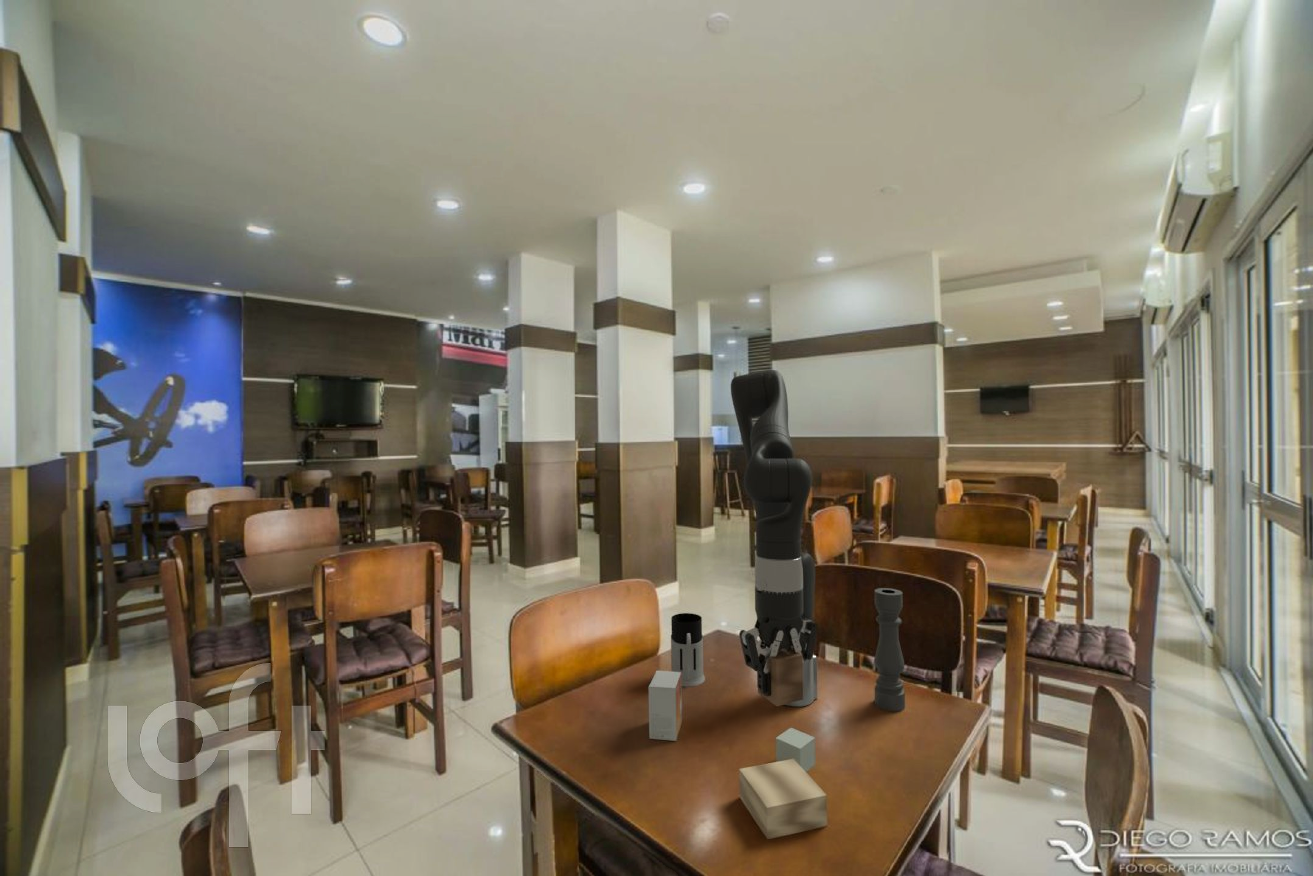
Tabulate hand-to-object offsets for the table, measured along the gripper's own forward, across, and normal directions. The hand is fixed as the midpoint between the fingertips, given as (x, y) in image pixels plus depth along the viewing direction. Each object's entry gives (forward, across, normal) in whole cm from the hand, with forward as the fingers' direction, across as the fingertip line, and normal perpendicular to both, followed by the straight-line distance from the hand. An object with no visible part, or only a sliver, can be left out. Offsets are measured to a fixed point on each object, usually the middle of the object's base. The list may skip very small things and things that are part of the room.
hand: (779, 690), depth 88 cm
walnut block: (+1, 0, 0) cm, 1 cm away
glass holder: (+19, -8, -47) cm, 51 cm away
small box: (+19, +6, -30) cm, 36 cm away
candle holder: (+19, -43, -18) cm, 50 cm away
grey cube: (+19, -10, -9) cm, 23 cm away
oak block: (+19, 0, 0) cm, 19 cm away
